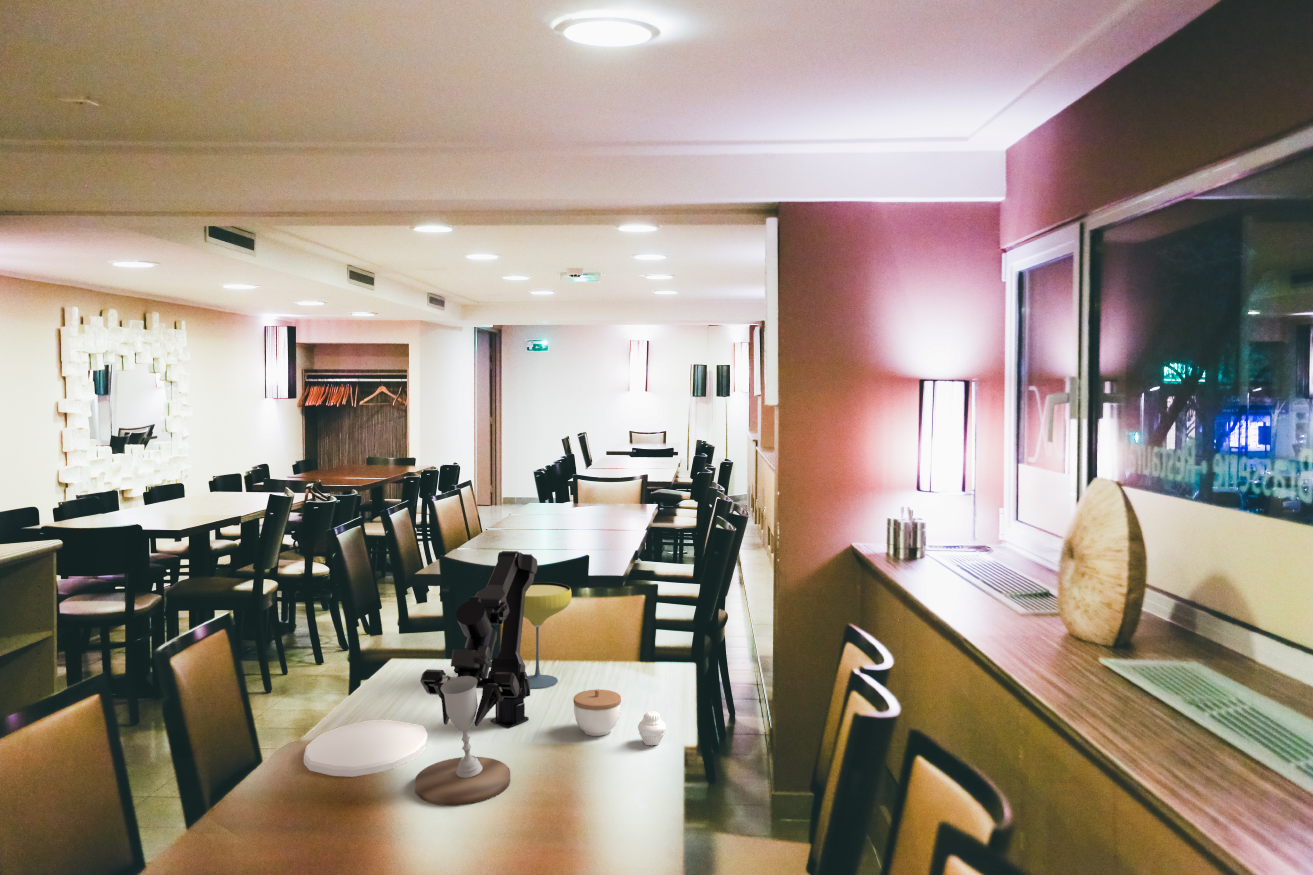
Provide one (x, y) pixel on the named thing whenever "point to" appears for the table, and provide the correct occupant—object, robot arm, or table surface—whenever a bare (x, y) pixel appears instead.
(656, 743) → the muffin
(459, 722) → the chalice
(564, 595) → the cocktail glass
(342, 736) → the decorative plate
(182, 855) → the table surface
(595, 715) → the lidded jar
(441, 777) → the serving board
